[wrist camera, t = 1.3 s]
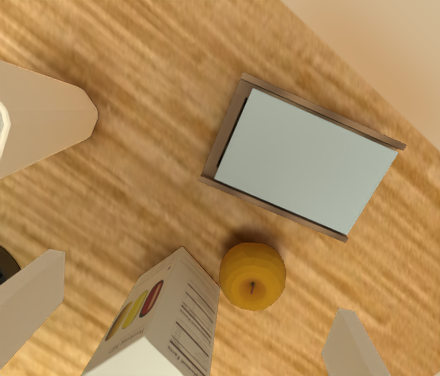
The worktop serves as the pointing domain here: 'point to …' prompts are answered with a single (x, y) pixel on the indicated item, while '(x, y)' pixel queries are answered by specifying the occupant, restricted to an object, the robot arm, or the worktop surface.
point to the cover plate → (303, 162)
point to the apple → (252, 276)
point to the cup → (39, 117)
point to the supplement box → (162, 324)
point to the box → (252, 82)
